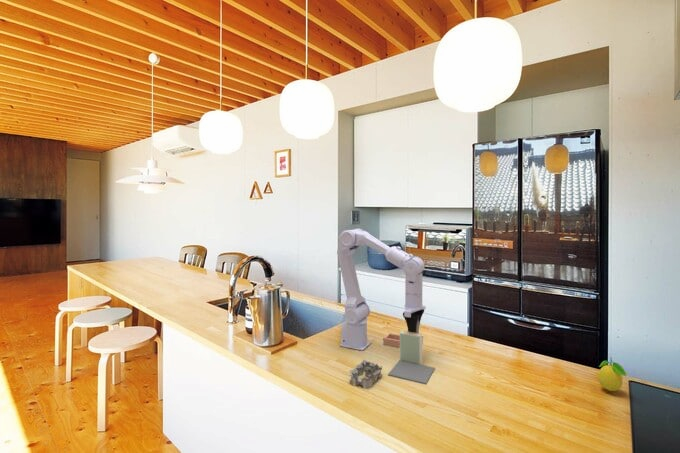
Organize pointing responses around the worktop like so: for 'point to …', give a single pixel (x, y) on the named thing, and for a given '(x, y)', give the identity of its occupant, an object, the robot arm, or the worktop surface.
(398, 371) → the mat
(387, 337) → the pusher holder
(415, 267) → the robot arm
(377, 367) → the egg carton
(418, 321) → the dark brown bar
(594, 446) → the worktop surface
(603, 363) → the lemon
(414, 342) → the glazed tile
